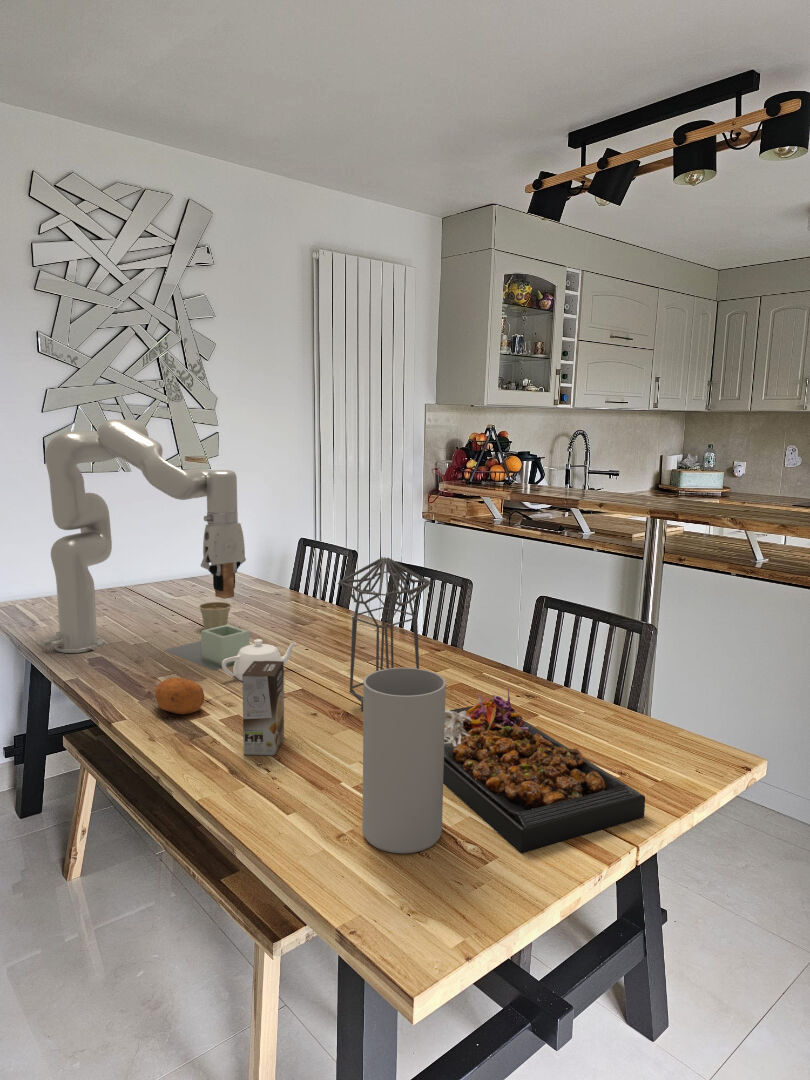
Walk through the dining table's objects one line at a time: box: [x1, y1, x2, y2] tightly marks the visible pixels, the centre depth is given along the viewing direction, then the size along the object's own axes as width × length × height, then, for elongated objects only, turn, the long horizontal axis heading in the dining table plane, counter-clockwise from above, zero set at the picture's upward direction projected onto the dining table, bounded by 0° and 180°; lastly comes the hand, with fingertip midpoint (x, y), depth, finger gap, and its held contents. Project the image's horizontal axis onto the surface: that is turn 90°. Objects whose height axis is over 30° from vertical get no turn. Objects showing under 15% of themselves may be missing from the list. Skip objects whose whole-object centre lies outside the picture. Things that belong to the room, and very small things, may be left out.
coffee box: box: [242, 661, 285, 756], centre depth 146 cm, size 9×6×16 cm
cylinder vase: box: [361, 667, 447, 855], centre depth 114 cm, size 12×12×25 cm
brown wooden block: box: [214, 563, 235, 600], centre depth 192 cm, size 3×4×10 cm
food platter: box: [443, 686, 646, 855], centre depth 136 cm, size 45×25×10 cm, turn 26°
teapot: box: [222, 638, 297, 682], centre depth 183 cm, size 20×12×10 cm, turn 125°
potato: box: [154, 677, 205, 715], centre depth 163 cm, size 9×11×8 cm
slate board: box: [163, 640, 233, 672], centre depth 200 cm, size 14×24×1 cm, turn 49°
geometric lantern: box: [337, 556, 431, 711], centre depth 163 cm, size 16×16×35 cm
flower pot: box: [198, 601, 232, 630], centre depth 221 cm, size 9×9×9 cm
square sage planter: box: [200, 624, 251, 668], centre depth 194 cm, size 8×9×8 cm
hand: (224, 588), depth 192 cm, fingers closed on brown wooden block, 3 cm apart
